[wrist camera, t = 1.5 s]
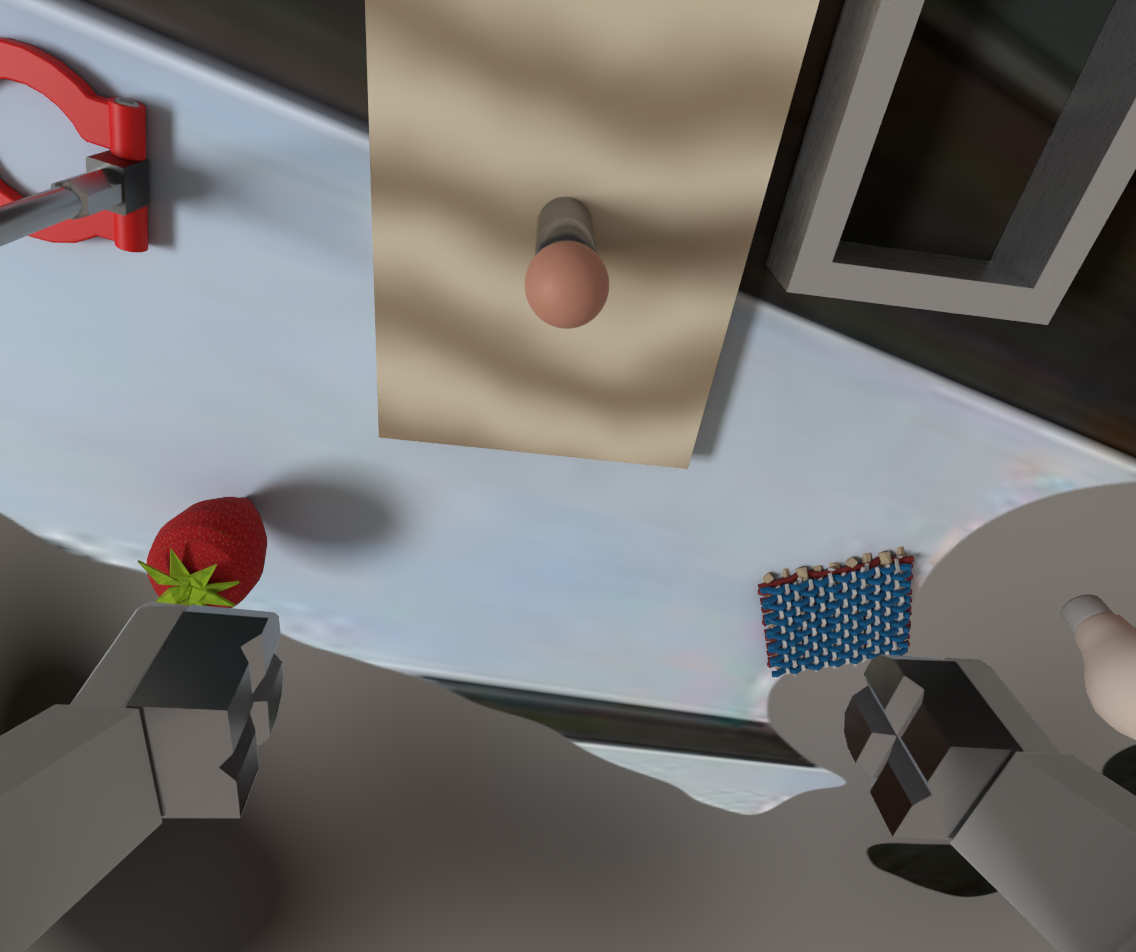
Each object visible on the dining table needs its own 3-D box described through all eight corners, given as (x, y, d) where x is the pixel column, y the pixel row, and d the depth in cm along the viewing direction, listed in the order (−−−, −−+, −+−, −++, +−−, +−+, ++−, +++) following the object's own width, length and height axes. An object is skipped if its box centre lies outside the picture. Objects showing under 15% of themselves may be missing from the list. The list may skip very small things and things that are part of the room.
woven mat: (905, 638, 53) (916, 660, 51) (765, 662, 54) (772, 684, 53) (909, 538, 47) (922, 558, 45) (752, 568, 48) (759, 588, 47)
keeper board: (368, -174, 26) (266, -261, 17) (833, -92, 27) (971, -131, 18) (384, 423, 41) (334, 549, 31) (684, 454, 42) (718, 583, 33)
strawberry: (177, 520, 45) (92, 640, 36) (216, 439, 41) (131, 551, 33) (266, 559, 47) (204, 680, 38) (310, 484, 43) (252, 600, 35)
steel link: (911, -226, 25) (965, -258, 22) (1237, -162, 26) (1334, -184, 23) (765, 263, 35) (786, 291, 32) (1003, 294, 36) (1047, 324, 33)
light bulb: (1010, 630, 52) (1106, 765, 43) (1053, 565, 48) (1167, 698, 39) (1094, 634, 52) (1206, 769, 43) (1143, 569, 48) (1277, 703, 39)
